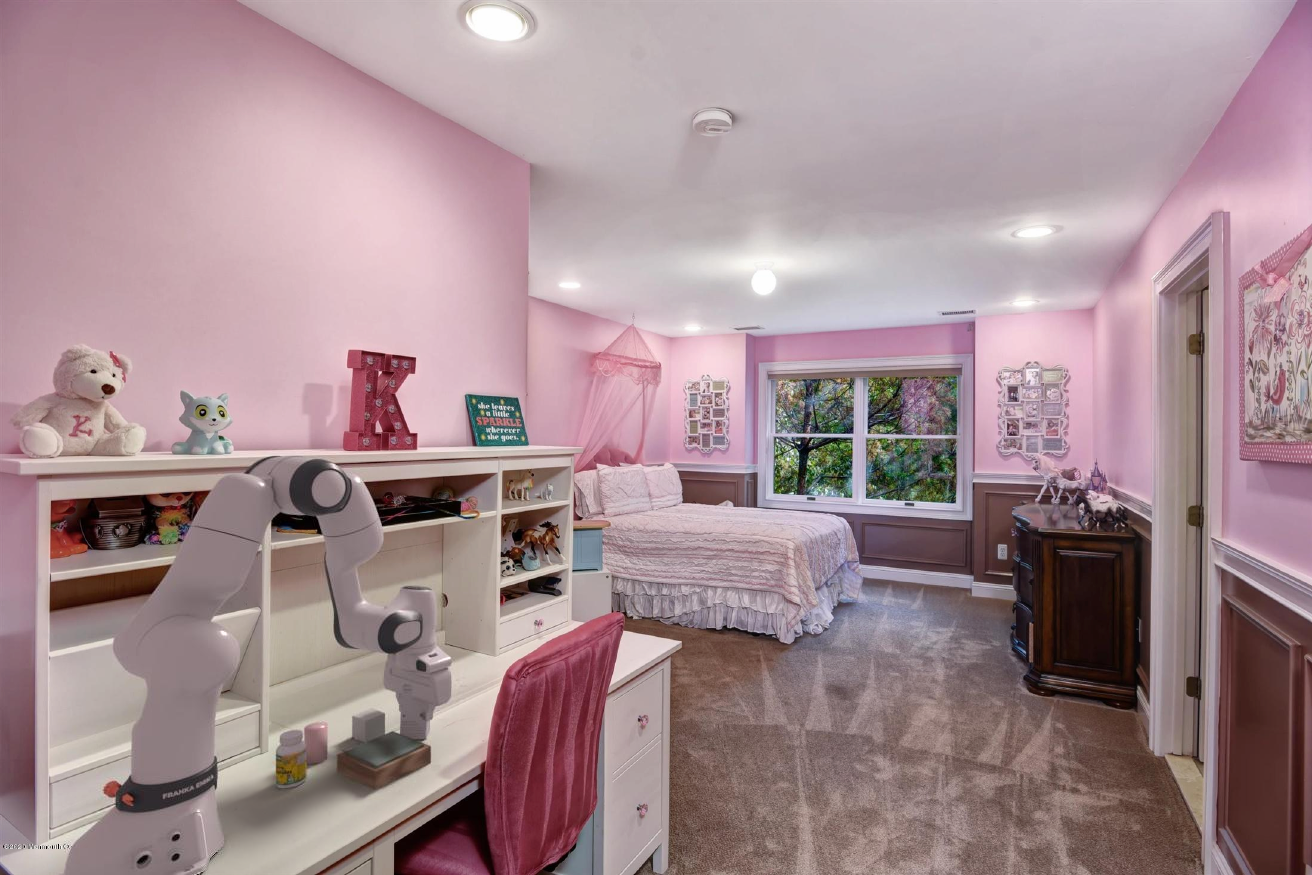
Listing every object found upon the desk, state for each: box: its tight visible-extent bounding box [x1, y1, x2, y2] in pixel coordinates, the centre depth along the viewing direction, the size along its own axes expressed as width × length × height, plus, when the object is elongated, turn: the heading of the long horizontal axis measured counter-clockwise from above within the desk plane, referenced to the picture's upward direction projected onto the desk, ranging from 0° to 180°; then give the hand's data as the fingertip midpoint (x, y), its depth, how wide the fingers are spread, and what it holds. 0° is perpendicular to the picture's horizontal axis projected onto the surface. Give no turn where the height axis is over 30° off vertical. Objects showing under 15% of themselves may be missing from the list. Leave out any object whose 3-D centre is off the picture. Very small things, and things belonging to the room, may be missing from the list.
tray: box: [336, 730, 432, 791], centre depth 137 cm, size 13×13×4 cm
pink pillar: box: [303, 721, 329, 765], centre depth 140 cm, size 4×4×7 cm
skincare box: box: [399, 684, 431, 740], centre depth 152 cm, size 6×4×12 cm
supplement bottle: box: [275, 729, 308, 789], centre depth 131 cm, size 5×5×10 cm
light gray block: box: [351, 708, 386, 743], centre depth 151 cm, size 5×5×5 cm
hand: (415, 715), depth 152 cm, fingers closed on skincare box, 7 cm apart
